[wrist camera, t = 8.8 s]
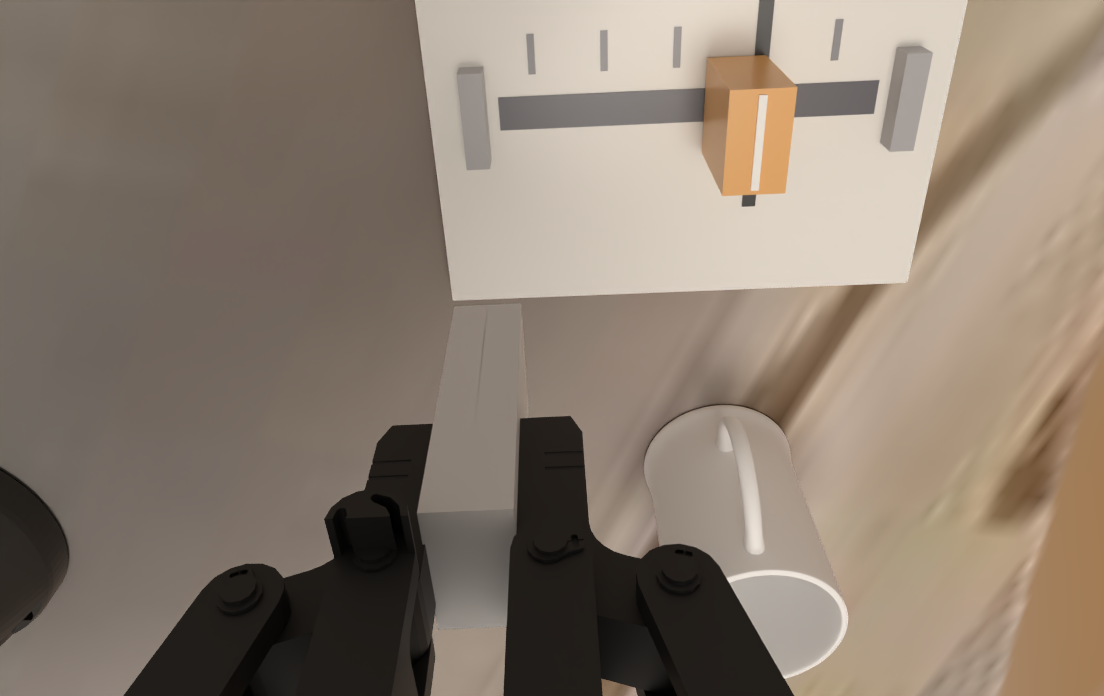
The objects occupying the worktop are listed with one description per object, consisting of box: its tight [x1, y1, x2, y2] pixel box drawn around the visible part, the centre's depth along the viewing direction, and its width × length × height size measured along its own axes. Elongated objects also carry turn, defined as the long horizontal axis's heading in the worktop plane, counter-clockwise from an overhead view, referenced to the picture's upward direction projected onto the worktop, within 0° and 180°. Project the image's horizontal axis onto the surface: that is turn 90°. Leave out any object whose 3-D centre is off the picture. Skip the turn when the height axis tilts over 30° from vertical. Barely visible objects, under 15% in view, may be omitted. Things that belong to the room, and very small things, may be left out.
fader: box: [702, 55, 798, 196], centre depth 32 cm, size 2×4×5 cm, turn 3°
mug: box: [644, 405, 848, 679], centre depth 42 cm, size 12×8×12 cm
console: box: [415, 0, 968, 301], centre depth 35 cm, size 22×16×3 cm
